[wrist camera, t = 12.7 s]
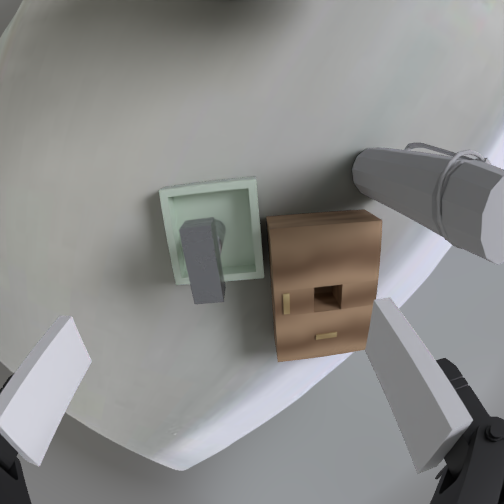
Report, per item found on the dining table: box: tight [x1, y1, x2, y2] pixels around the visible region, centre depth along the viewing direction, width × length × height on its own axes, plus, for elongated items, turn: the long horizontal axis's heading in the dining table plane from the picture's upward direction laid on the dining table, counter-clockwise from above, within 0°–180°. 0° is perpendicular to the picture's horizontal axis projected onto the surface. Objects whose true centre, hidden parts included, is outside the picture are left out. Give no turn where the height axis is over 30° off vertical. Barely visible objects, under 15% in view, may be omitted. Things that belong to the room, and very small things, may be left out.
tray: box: [159, 176, 264, 285], centre depth 38 cm, size 13×12×3 cm
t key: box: [179, 217, 226, 304], centre depth 34 cm, size 3×8×12 cm, turn 6°
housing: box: [266, 209, 382, 362], centre depth 40 cm, size 20×14×6 cm
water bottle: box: [352, 143, 504, 265], centre depth 25 cm, size 9×8×25 cm
